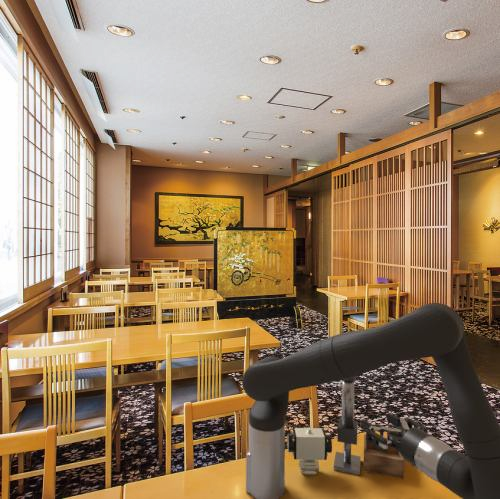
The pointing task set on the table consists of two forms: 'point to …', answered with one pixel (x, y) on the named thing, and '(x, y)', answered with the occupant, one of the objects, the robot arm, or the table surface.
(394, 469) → the bin
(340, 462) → the stud mount
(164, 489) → the table surface
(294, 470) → the table surface
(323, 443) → the pneumatic rotary actuator
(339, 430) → the strut
